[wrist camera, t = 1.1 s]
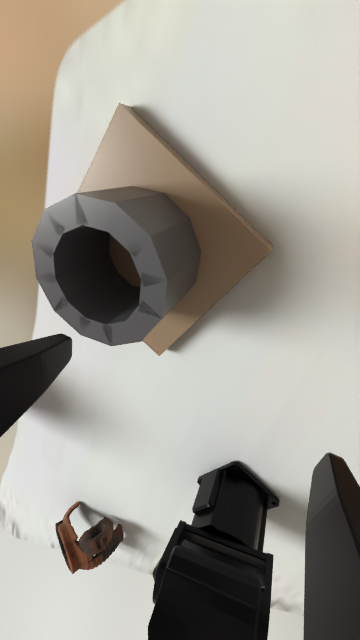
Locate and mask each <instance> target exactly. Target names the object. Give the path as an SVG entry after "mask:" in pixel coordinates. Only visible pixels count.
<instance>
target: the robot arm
mask: <svg viewBox="0 0 360 640" xmlns="http://www.w3.org/2000/svg"><path fill="white" fill-rule="evenodd" d="M71 357H72V339H71V338H70V337H68V336H66V335H64V334H56V335H52V336H48V337H44V338H40V339H36V340H31V341H27V342H23V343H20V344H15V345H11V346H7V347H3V348H0V437H1V436H2V435H3V434H4V433H5V432H6V431H7V430H8V429H9V428H10V427H11V426H12V425H13V424H14V423H15V422H16V421H17V420H18V419H19V418H20V417H21V416H22V415H23V414H24V413H25V412H26V411H27V410H28V409H29V408H30V407H31V406H32V405H33V404H34V403H35V402H36V401H37V400H38V399H39V398H40V397H41V395H42V394H43V393H44V392H45V391H46V390H47V389H48V387H49V386H50V385H51V384H52V382H53V381H54V380H55V379H56V377H57V376H58V375H59V374H60V372H61V371H62V370H63V369H64V367H65V366H66V365H67V364H68V362H69V361H70V359H71ZM197 482H198V484H199V485H200V487H199V490H198V493H197V496H196V499H195V502H194V505H193V508H192V509H193V513H194V514H195V515H194V518H193V521H192V524H191V525H189V524H186V522H184V521H181V520H180V522H179V524H178V526H177V528H175V530H174V532H173V534H172V536H171V539H170V541H169V543H168V545H167V547H166V549H165V551H164V553H163V556H162V557H161V559H160V561H159V562H158V564H157V565H156V567H155V568H154V571H153V578H154V581H155V584H154V591H153V603H154V604H155V606H154V610H153V613H152V616H151V619H150V622H149V625H148V640H267V636H268V626H269V614H270V602H271V586H272V570H273V555H272V554H269V553H267V554H266V553H263V544H264V535H265V526H266V517H267V509H271V508H274V507H278V506H279V499H278V498H277V497H276V496H275V495H274V494H273V493H271V492H270V491H269V490H268V489H267V488H266V487H265V486H264V485H263V484H262V483H261V482H259V481H258V480H257V479H256V478H255V477H254V476H253V475H252V474H251V473H250V472H248V471H247V470H246V469H245V468H244V467H243V466H242V465H241V464H240V463H238V462H235V461H234V462H231V463H229V464H227V465H224V466H222V467H220V468H218V469H215V470H213V471H211V472H209V473H206V474H204V475H202V476H200V477H199V478H198V481H197ZM304 640H360V486H359V485H358V483H357V481H356V479H355V478H354V476H353V474H352V473H351V471H350V469H349V467H348V466H347V464H346V462H345V461H344V459H343V458H341V457H339V456H337V455H335V454H332V453H326V454H325V456H324V457H323V458H322V459H321V460H320V462H319V463H318V464H317V465H316V467H315V468H314V471H313V475H312V482H311V490H310V497H309V505H308V512H307V520H306V539H305V595H304Z"/></svg>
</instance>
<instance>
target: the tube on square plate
mask: <svg viewBox="0 0 360 640" xmlns="http://www.w3.org/2000/svg"><path fill="white" fill-rule="evenodd" d="M32 246H33V254H34V263H35V272H36V278H37V280H38V282H39V284H40V285H41V287H42V289H43V291H44V293H45V295H46V297H47V299H48V300H49V302H50V304H51V306H52V308H53V310H54V311H55V312H56V313H57V314H58V315H59V316H60V317H62V318H63V319H64V320H65V321H66V322H67V323H68V324H69V325H70V326H71V327H73V328H74V329H75V330H76V331H77V332H78V333H79V334H80V335H82V336H85V337H88V338H91V339H93V340H96V341H99V342H101V343H104V344H107V345H110V346H116V345H122V344H128V343H134V342H140V341H143V342H145V343H146V344H147V345H148V346H149V347H150V348H151V349H152V350H153V351H154V352H155V353H156V354H158V355H159V356H160V355H161V354H162V353H163V352H164V351H165V350H166V349H167V348H168V347H169V346H171V345H172V344H173V343H174V342H175V341H176V340H177V339H178V338H179V337H180V336H181V335H182V334H183V333H184V332H185V331H186V330H187V329H189V328H190V327H191V326H192V325H193V324H194V323H195V322H196V321H197V320H198V319H199V318H200V317H201V316H202V315H203V314H204V313H206V312H207V311H208V310H209V309H210V308H211V307H212V306H213V305H214V304H215V303H216V302H217V301H218V300H219V299H220V298H221V297H222V296H224V295H225V294H226V293H227V292H228V291H229V290H230V289H231V288H232V287H233V286H234V285H235V284H236V283H237V282H238V281H239V280H241V279H242V278H243V277H244V276H245V275H246V274H247V273H248V272H249V271H250V270H251V269H252V268H253V267H254V266H255V265H256V264H257V263H259V262H260V261H261V260H262V259H263V258H264V257H265V256H266V255H267V254H268V253H269V252H270V251H271V250H272V247H273V246H272V245H271V244H270V243H269V242H268V241H267V240H266V239H265V238H264V237H263V236H262V235H261V234H260V233H259V232H258V231H257V230H256V229H255V228H254V227H252V226H251V225H250V224H249V223H248V222H247V221H246V220H245V219H244V218H243V217H242V216H241V215H240V214H239V213H238V212H237V211H236V210H235V209H234V208H233V207H232V206H231V205H230V204H229V203H228V202H227V201H226V200H225V199H224V198H223V197H222V196H221V195H220V194H219V193H218V192H217V191H216V190H214V189H213V188H212V187H211V186H210V185H209V184H208V183H207V182H206V181H205V180H204V179H203V178H202V177H201V176H200V175H199V174H198V173H197V172H196V171H195V170H194V169H193V168H192V167H191V166H190V165H189V164H188V163H187V162H186V161H185V160H184V159H183V158H182V157H181V156H180V155H179V154H178V153H176V152H175V151H174V150H173V149H172V148H171V147H170V146H169V145H168V144H167V143H166V142H165V141H164V140H163V139H162V138H161V137H160V136H159V135H158V134H157V133H156V132H155V131H154V130H153V129H152V128H151V127H150V126H149V125H148V124H147V123H146V122H145V121H144V120H143V119H142V118H141V117H140V116H138V115H137V114H136V113H135V112H134V111H133V110H132V109H131V108H130V107H129V106H127V105H124V104H120V103H119V105H118V107H117V109H116V111H115V113H114V115H113V117H112V120H111V122H110V124H109V126H108V128H107V130H106V132H105V135H104V137H103V139H102V141H101V143H100V145H99V147H98V150H97V152H96V154H95V156H94V158H93V160H92V162H91V164H90V167H89V169H88V171H87V173H86V175H85V177H84V179H83V182H82V184H81V186H80V188H79V190H78V192H77V193H75V194H73V195H71V196H70V197H68V198H66V199H64V200H62V201H60V202H58V203H56V204H54V205H52V206H50V207H48V208H46V209H45V210H44V212H43V215H42V217H41V220H40V222H39V225H38V227H37V230H36V232H35V235H34V237H33V240H32Z"/></svg>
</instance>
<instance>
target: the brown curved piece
mask: <svg viewBox="0 0 360 640" xmlns="http://www.w3.org/2000/svg"><path fill="white" fill-rule="evenodd" d="M78 506H79V502H76V503H75V504H74V505H72V507H70V508H69V509H68V511H67V512H66V514H65V515H64V518H63V520H62V521H60V522H58V523H56V533H57V536H58V540H59V544H60V547H61V550H62V553H63V556H64V558H65V561H66V564H67V566H68V568H69V570H70V571H71V572H72V574H74V573H75V572H76V571H77V570H78V569H83V570H85V569H86V570H89V569H93V568H94V567H97V566H98V565H101V564H102V562H104V561H105V560H106V559H107V558H109V556H110V555H111V554H112V552H114V551H115V549H116V548H117V546H118V545H119V544H120V542H122V541H123V530H122V526H121V524H119V525H118V526H117V527H116V529H115V530H114V531H113V529H114V527H113V522H112V521H111V520H110V519H108V518H106V517H104V518H103V519H102V520H100V522H98V524H96V525H95V526H94V527H91V528H90V529H89V530H87V531H85V532H84V534H83V535H82V536H81V537H80V539H79V541H77V538H78V536H77V535H76V533H75V531H74V528H73V527H72V526H71V522H70V519H69V516H70V514H71V513H72V511H73V510H74V509H75V508H77V507H78ZM95 554H96V555H95ZM93 555H95V556H93Z"/></svg>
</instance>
